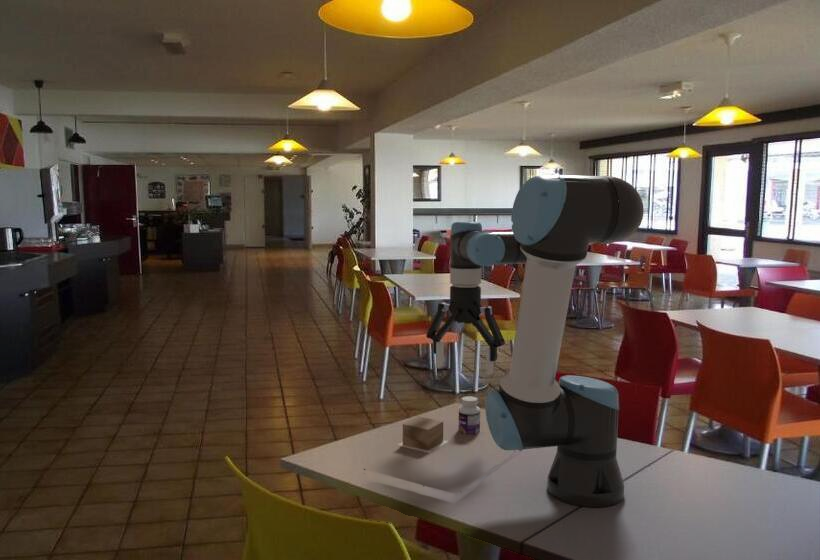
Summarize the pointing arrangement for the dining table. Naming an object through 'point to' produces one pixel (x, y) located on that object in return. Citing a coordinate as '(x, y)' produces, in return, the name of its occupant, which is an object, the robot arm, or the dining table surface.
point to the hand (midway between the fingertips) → (464, 370)
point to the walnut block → (423, 433)
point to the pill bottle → (469, 416)
